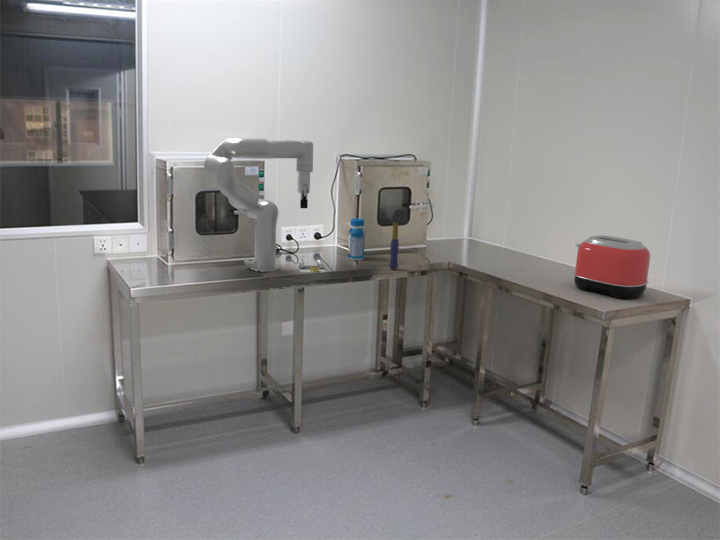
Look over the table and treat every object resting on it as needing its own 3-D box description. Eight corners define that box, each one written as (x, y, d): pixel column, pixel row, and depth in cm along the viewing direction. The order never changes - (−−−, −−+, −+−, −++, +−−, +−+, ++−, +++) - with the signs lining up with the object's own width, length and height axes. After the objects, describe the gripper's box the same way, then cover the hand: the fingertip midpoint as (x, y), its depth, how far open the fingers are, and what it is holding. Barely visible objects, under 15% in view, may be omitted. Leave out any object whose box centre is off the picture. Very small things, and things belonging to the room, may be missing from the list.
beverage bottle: (354, 261, 325) (356, 221, 320) (344, 258, 331) (345, 218, 326) (367, 259, 330) (369, 219, 326) (356, 256, 336) (358, 217, 332)
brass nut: (310, 272, 295) (310, 268, 294) (308, 270, 299) (308, 266, 298) (320, 271, 296) (320, 267, 296) (318, 269, 300) (318, 266, 300)
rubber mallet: (382, 266, 315) (385, 204, 308) (397, 266, 317) (400, 204, 310) (389, 272, 303) (392, 207, 297) (404, 272, 305) (408, 208, 298)
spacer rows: (300, 269, 300) (300, 262, 299) (298, 265, 307) (299, 259, 307) (322, 269, 302) (323, 262, 301) (320, 265, 309) (321, 259, 308)
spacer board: (300, 273, 294) (300, 272, 294) (298, 266, 307) (298, 265, 307) (324, 273, 296) (324, 272, 296) (321, 266, 309) (321, 265, 309)
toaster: (654, 295, 280) (662, 242, 275) (627, 303, 265) (635, 247, 260) (586, 280, 304) (592, 231, 298) (558, 286, 289) (564, 235, 284)
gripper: (295, 167, 309) (294, 205, 313) (297, 169, 294) (297, 210, 298) (311, 167, 310) (310, 206, 314) (314, 169, 296) (313, 210, 300)
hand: (303, 208), depth 306 cm, fingers closed
